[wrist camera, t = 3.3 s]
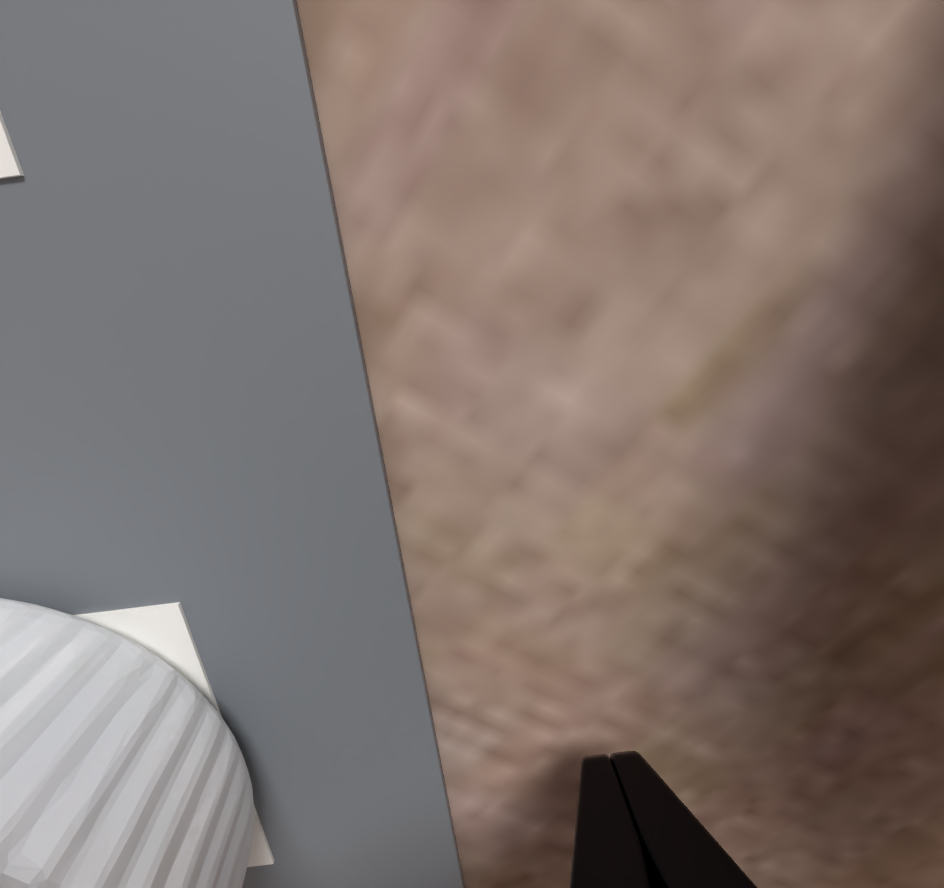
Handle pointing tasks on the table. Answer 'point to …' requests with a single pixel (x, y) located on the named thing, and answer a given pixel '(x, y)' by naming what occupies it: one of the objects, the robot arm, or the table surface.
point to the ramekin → (111, 764)
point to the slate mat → (210, 415)
